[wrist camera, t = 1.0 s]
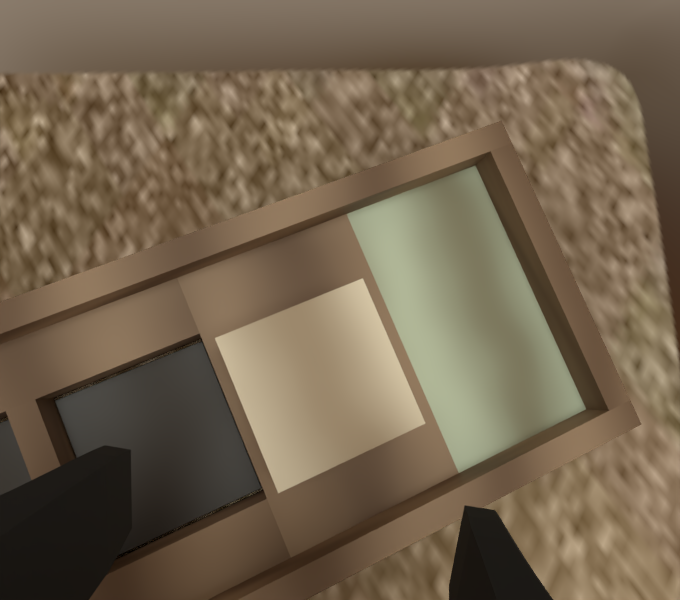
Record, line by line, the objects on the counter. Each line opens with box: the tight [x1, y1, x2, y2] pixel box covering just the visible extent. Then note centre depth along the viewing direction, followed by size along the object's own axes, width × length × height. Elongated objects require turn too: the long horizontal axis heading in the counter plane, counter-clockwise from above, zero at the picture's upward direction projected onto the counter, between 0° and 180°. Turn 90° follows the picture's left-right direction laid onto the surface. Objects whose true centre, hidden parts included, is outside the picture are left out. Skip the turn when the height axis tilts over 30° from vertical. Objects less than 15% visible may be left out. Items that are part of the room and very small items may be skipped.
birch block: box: [215, 278, 425, 493], centre depth 20 cm, size 5×5×4 cm
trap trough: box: [0, 121, 641, 600], centre depth 21 cm, size 28×13×4 cm, turn 113°
